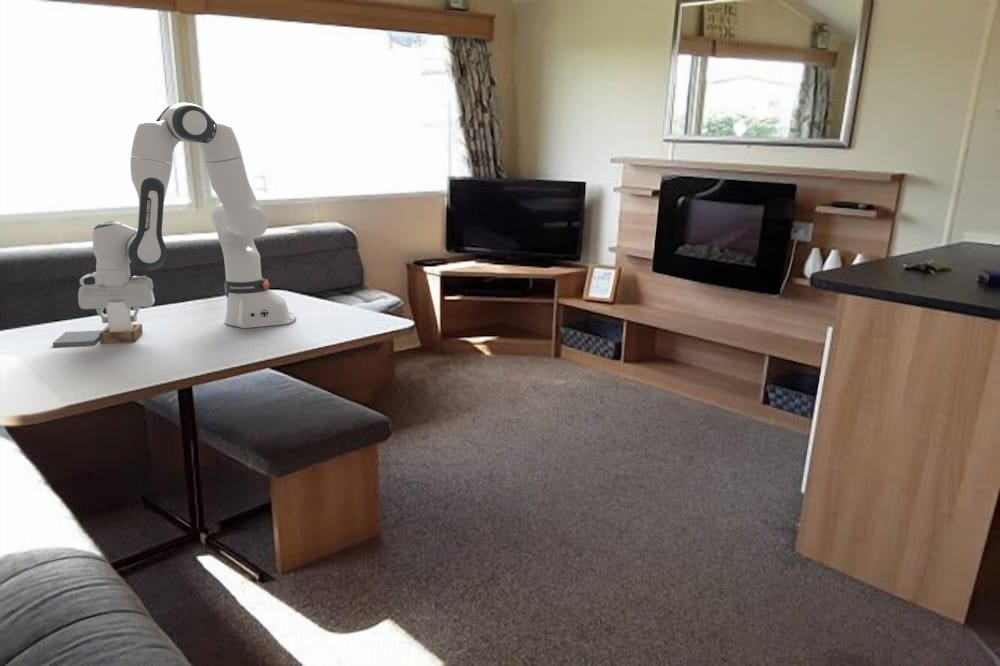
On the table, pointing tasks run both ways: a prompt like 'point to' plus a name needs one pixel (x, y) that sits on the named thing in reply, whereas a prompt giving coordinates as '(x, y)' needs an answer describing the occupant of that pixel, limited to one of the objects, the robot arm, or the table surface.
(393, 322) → the table surface
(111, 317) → the can
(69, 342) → the coaster
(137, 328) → the square wooden frame
